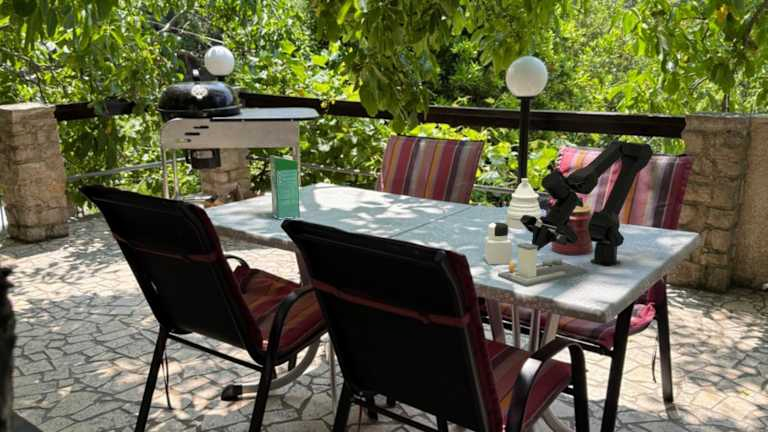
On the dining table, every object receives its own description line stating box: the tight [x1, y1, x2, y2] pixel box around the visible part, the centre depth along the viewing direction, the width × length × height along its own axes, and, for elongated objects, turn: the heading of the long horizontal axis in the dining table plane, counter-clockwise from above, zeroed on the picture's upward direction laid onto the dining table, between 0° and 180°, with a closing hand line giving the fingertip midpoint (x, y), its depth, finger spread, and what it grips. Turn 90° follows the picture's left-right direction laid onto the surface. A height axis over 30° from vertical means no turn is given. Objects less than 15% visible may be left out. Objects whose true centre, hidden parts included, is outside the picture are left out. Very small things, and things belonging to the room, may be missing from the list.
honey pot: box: [505, 178, 543, 231], centre depth 272 cm, size 13×13×18 cm
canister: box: [551, 202, 594, 256], centre depth 237 cm, size 13×13×18 cm
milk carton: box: [269, 154, 301, 220], centre depth 292 cm, size 9×9×25 cm
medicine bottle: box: [484, 222, 513, 265], centre depth 227 cm, size 7×7×12 cm
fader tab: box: [516, 242, 538, 279], centre depth 207 cm, size 3×5×10 cm
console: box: [497, 257, 589, 288], centre depth 214 cm, size 24×12×4 cm, turn 122°
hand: (532, 252), depth 208 cm, fingers closed, pressing on fader tab
